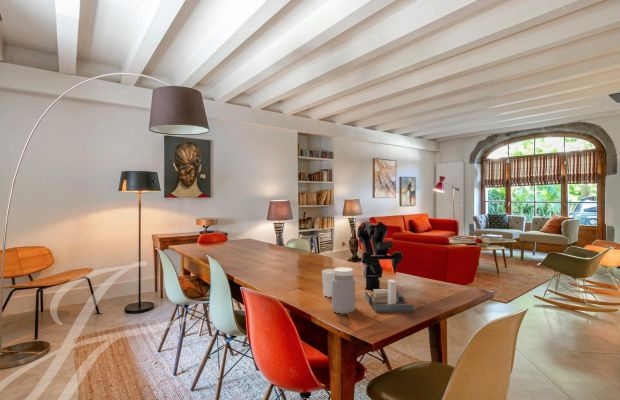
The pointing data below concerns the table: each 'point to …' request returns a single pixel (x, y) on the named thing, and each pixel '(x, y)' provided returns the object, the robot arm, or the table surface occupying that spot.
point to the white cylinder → (327, 281)
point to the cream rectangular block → (391, 292)
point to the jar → (343, 290)
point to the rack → (390, 305)
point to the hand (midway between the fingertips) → (385, 273)
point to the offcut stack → (380, 296)
